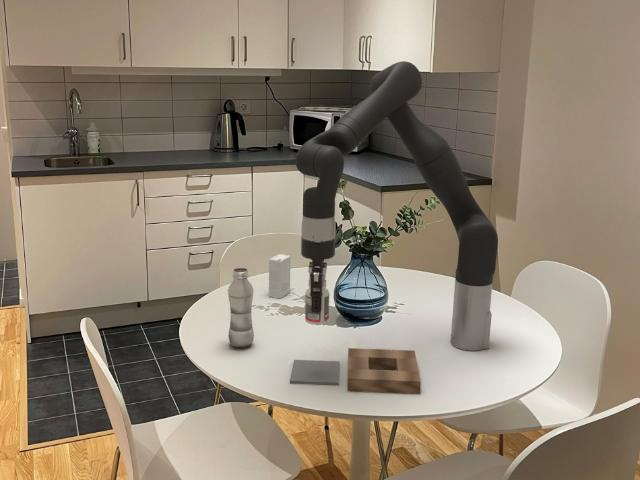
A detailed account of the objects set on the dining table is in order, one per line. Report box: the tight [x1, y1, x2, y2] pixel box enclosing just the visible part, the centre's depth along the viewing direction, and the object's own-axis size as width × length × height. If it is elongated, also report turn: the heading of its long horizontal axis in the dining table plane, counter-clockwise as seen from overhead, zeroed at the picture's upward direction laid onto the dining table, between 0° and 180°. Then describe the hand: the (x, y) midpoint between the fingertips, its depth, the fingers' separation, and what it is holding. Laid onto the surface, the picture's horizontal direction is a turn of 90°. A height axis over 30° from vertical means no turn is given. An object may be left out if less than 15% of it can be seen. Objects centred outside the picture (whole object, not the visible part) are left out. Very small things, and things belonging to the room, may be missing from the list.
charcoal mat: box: [289, 359, 341, 386], centre depth 165 cm, size 11×11×1 cm
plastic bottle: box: [227, 267, 255, 348], centre depth 176 cm, size 6×7×20 cm
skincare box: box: [268, 253, 292, 299], centre depth 213 cm, size 6×4×12 cm
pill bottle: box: [304, 278, 330, 326], centre depth 160 cm, size 5×5×10 cm
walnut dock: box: [347, 347, 422, 395], centre depth 164 cm, size 16×16×3 cm
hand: (317, 306), depth 160 cm, fingers closed on pill bottle, 5 cm apart
